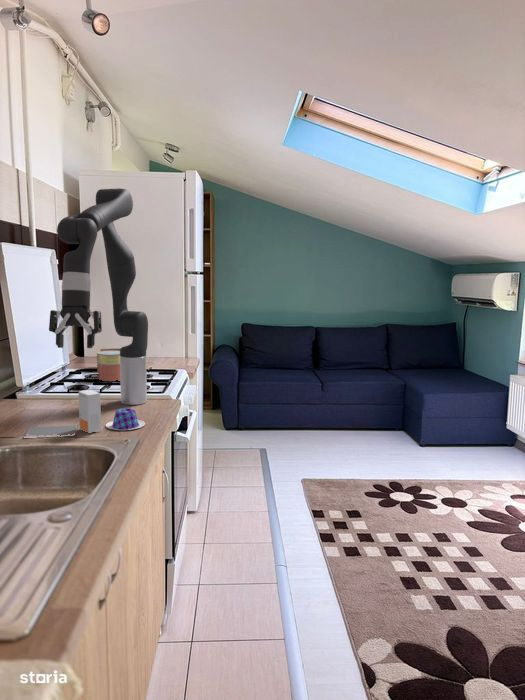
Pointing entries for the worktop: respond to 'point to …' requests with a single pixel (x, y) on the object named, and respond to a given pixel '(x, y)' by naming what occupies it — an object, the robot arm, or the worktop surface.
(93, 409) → the skincare box
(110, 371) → the canned food
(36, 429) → the mat
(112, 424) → the pudding
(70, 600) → the worktop surface
